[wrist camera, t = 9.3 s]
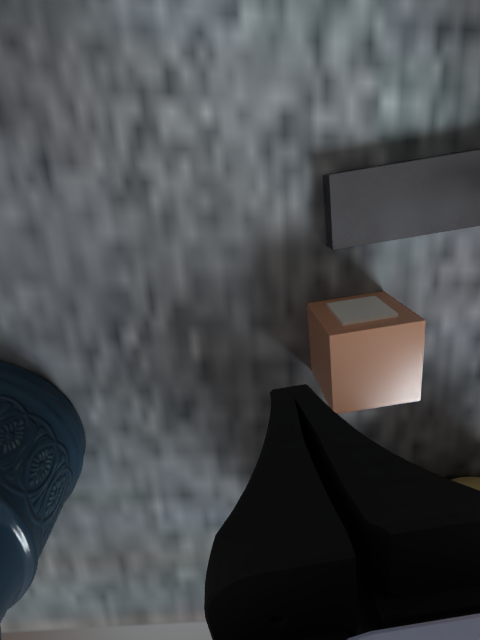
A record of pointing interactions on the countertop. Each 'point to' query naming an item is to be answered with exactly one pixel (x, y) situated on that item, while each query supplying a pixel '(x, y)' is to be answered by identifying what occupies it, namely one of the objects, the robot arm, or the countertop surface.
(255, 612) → the robot arm
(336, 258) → the countertop surface
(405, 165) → the rail
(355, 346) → the cube
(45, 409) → the canister
